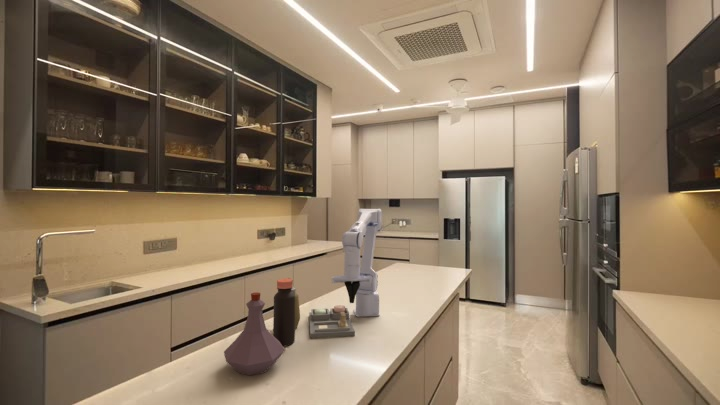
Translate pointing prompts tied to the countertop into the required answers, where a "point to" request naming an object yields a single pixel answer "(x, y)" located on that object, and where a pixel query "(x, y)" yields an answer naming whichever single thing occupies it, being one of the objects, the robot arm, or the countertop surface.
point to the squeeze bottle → (296, 307)
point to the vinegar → (284, 313)
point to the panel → (329, 325)
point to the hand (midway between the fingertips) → (351, 302)
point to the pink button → (339, 309)
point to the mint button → (319, 311)
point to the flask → (254, 343)
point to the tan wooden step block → (342, 320)
